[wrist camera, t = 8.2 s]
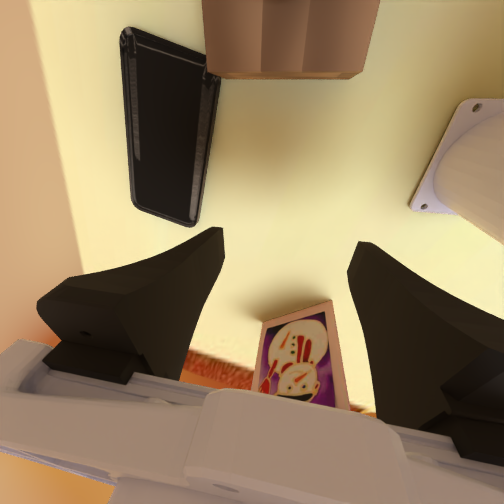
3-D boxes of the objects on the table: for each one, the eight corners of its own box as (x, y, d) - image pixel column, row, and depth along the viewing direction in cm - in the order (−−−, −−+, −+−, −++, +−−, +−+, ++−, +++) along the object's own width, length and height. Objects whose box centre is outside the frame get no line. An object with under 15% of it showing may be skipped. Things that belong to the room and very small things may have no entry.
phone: (221, 61, 15) (195, 230, 24) (225, 63, 16) (199, 226, 24) (116, 20, 14) (130, 206, 23) (127, 25, 15) (136, 203, 24)
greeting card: (328, 295, 26) (353, 452, 14) (353, 328, 29) (391, 484, 17) (259, 319, 32) (235, 446, 20) (285, 345, 35) (278, 471, 22)
